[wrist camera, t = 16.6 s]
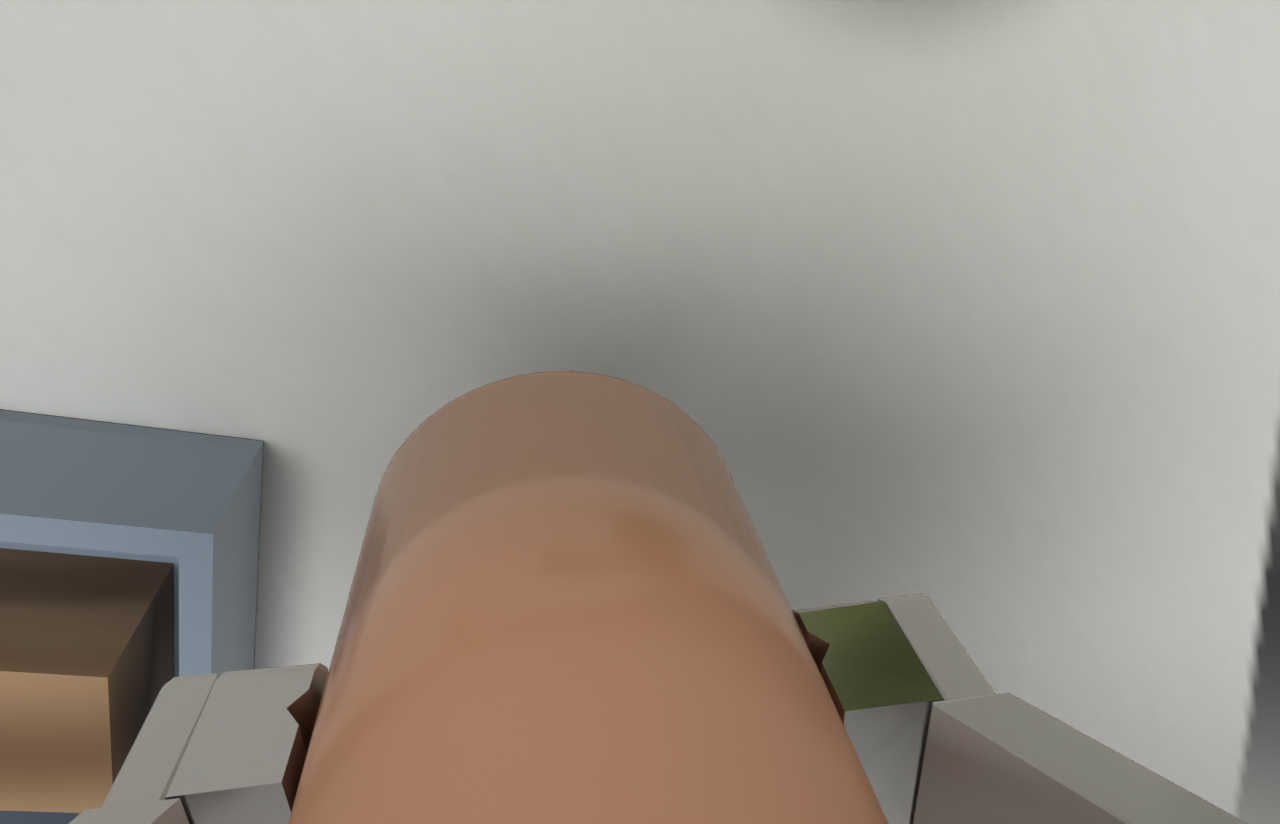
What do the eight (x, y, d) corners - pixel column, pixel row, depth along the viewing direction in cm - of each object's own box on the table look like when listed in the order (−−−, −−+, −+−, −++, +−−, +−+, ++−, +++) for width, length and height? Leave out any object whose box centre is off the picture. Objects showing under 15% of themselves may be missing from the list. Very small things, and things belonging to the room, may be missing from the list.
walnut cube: (-9, 547, 26) (-116, 663, 21) (174, 562, 27) (107, 677, 22) (5, 676, 28) (-90, 807, 23) (174, 686, 29) (114, 814, 24)
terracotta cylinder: (741, 356, 11) (1040, 830, 5) (734, 658, 13) (930, 1251, 7) (339, 387, 11) (92, 965, 4) (400, 697, 13) (296, 1375, 7)
